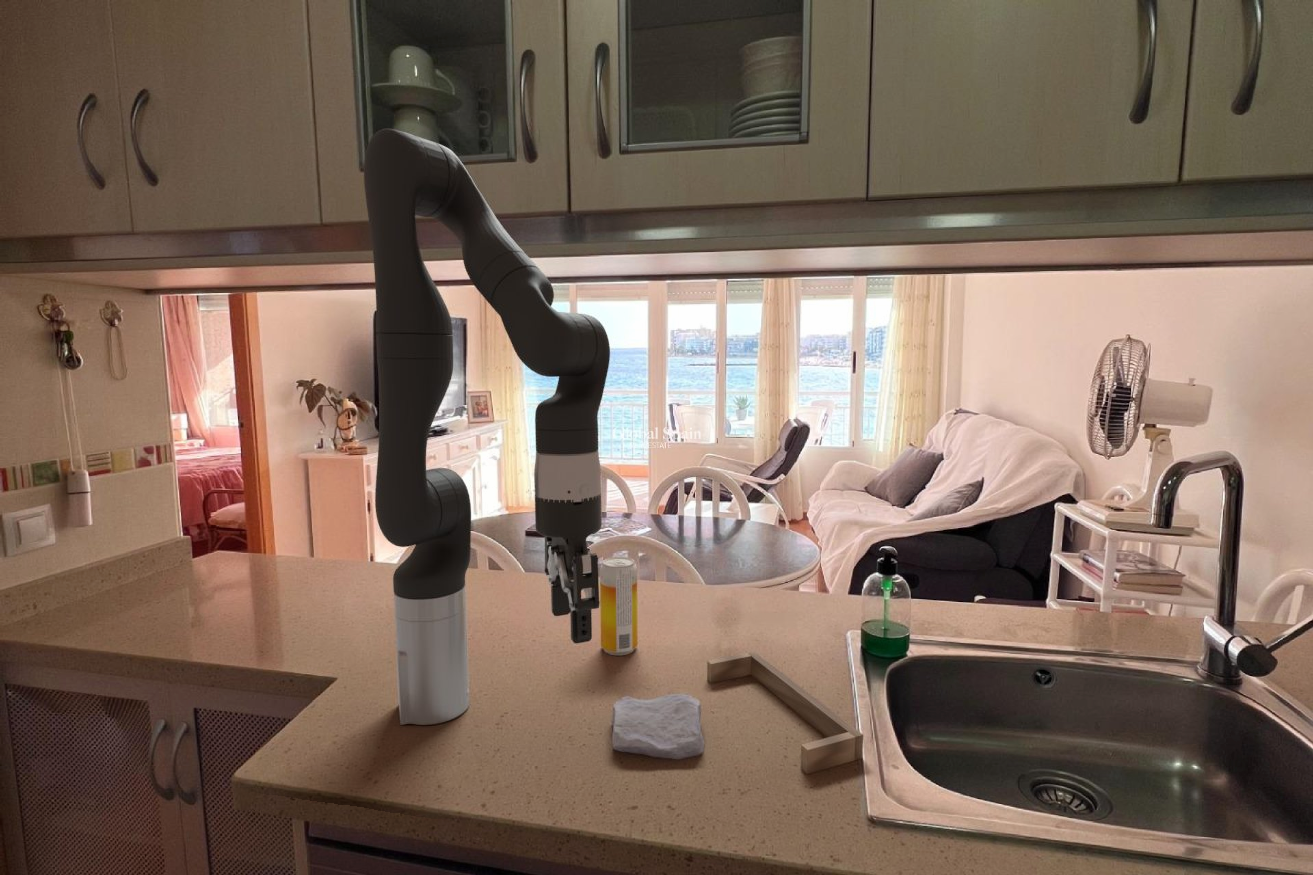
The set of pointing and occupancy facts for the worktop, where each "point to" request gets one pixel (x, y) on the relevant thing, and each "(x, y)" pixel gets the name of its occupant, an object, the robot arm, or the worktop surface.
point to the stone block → (658, 726)
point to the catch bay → (814, 755)
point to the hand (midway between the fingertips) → (570, 627)
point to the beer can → (618, 605)
